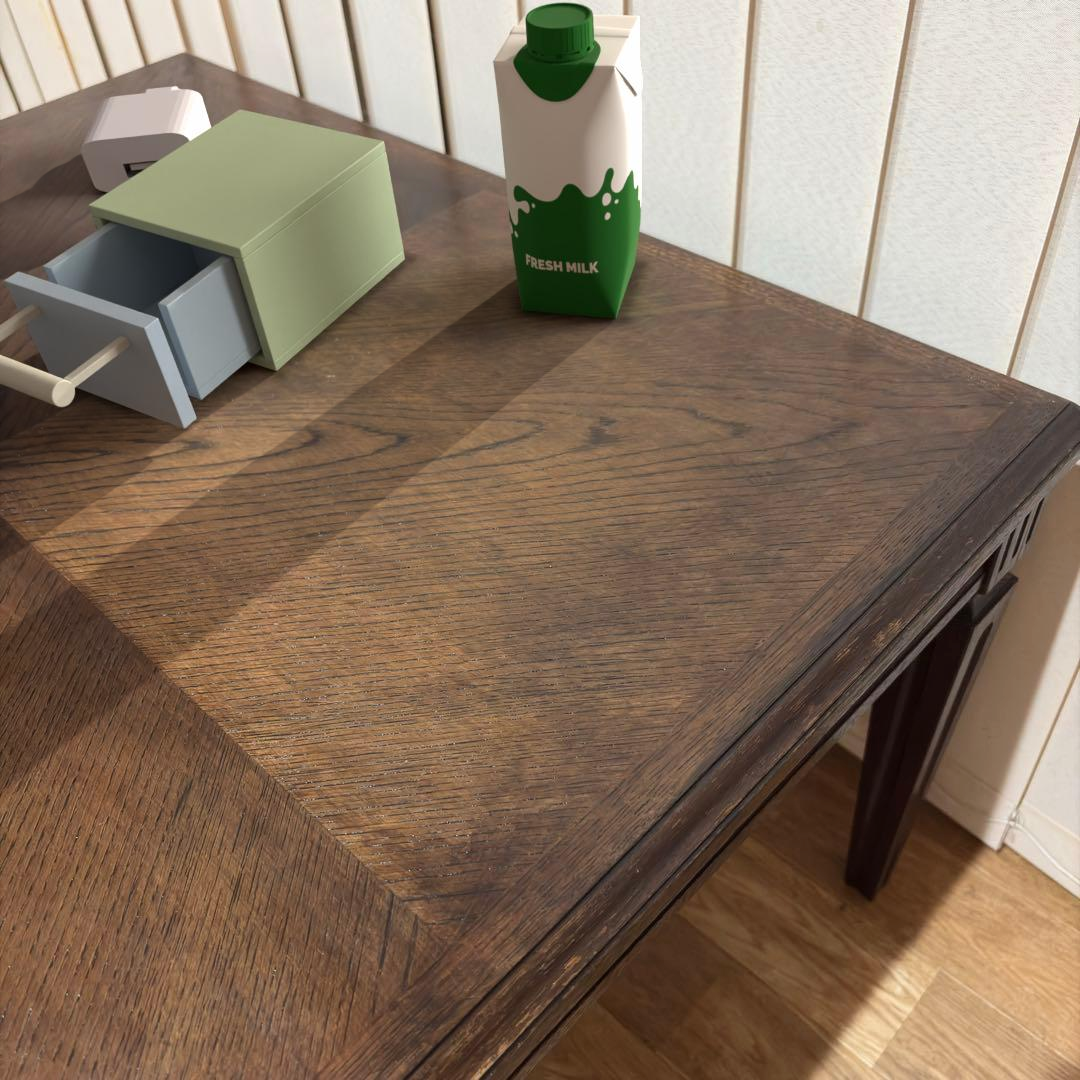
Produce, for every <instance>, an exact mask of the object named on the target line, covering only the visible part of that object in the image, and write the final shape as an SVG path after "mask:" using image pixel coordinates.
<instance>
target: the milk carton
mask: <svg viewBox="0 0 1080 1080" xmlns="http://www.w3.org/2000/svg"><path fill="white" fill-rule="evenodd" d="M640 19H641V17H640V15H629V14H628V15H625V14H596V13H595V14H594V12H593V10H592V9H591V8H589V7H588V6H586V5H584V4H581V3H576V2H553V3H546V4H543V5H540V6H537V7H534V8H533V9H531V10H530V11H528V12H525V13H524V14H523V16H522V18H520V20H519V22H518V24H517V25H514V26H513V27H512V29H511V30H510V31H509V35H508V36H507V38H506V40H505V41H504V43H503V44H502V46H501V48H500V49H499V51H498V52H497V54H496V56H495V57H494V59H493V61H492V65H493V71H494V79H495V87H496V88H495V89H496V96H497V103H498V111H499V113H498V114H499V123H500V133H501V144H502V145H501V146H502V155H503V165H504V176H505V177H504V178H505V186H506V196H507V197H506V198H507V206H508V217H509V218H508V219H509V228H510V236H511V237H510V238H511V246H512V254H513V260H514V267H515V273H516V280H517V287H518V292H519V293H518V294H519V300H520V306H521V307H520V308H521V311H527V312H537V313H548V314H560V315H570V316H579V317H580V316H582V317H591V318H601V319H602V318H603V319H612V320H613V319H614V320H616V319H617V318H618V314H619V312H620V309H621V306H622V302H623V299H624V296H625V294H626V291H627V288H628V285H629V282H630V280H631V276H632V274H633V271H634V268H635V265H636V257H637V250H638V249H637V248H638V244H639V243H638V242H639V237H640V229H641V220H642V141H643V139H642V136H643V135H642V134H643V133H642V129H643V128H642V125H643V122H642V120H643V119H642V118H643V117H642V91H643V87H644V85H643V74H642V73H643V72H642V65H641V47H640V46H641V42H640V41H641V39H640V37H641V35H640V28H641V27H640V26H641V24H640Z"/></svg>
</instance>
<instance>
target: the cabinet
mask: <svg viewBox="0 0 1080 1080" xmlns="http://www.w3.org/2000/svg"><path fill="white" fill-rule="evenodd" d="M389 167H390V166H389V161H388V155H387V151H386V146H385V141H384V140H381V139H376V138H371V137H367V136H362V135H357V134H353V133H349V132H344V131H339V130H335V129H331V128H325V127H322V126H317V125H312V124H307V123H304V122H300V121H294V120H290V119H286V118H280V117H276V116H271V115H267V114H262V113H258V112H253V111H250V110H249V111H248V110H245V109H237V110H236V111H235V112H233V113H231V114H230V115H229V116H227V117H225V118H224V119H222V120H221V121H219V122H218V123H216V124H214V125H213V126H211V128H210V129H208V130H206V131H205V132H203V133H202V134H200V135H198V136H197V137H195V138H194V139H192V140H191V141H189V142H187V143H186V144H184V145H183V146H181V147H179V148H178V149H176V150H175V151H173V152H172V153H170V154H168V155H167V156H165V157H164V158H162V159H160V160H159V161H157V162H156V163H154V164H153V165H151V166H149V167H148V168H146V169H145V170H143V171H141V172H140V173H138V174H137V175H135V176H134V177H132V178H130V179H129V180H127V181H126V182H124V183H123V184H121V185H119V186H118V187H116V188H115V189H113V190H111V191H110V192H106V193H105V194H104V195H102V196H100V197H99V198H97V199H96V200H94V201H93V202H91V203H89V204H88V209H89V211H90V213H91V217H92V219H93V222H94V224H95V228H96V229H97V230H99V229H100V228H102V227H103V226H105V225H106V224H108V223H109V222H111V221H113V222H117V223H120V224H124V225H127V226H130V227H134V228H137V229H141V230H144V231H147V232H151V233H154V234H158V235H161V236H165V237H168V238H171V239H175V240H178V241H182V242H185V243H188V244H192V245H195V246H199V247H202V248H206V249H209V250H212V251H216V252H219V253H223V254H226V255H230V256H233V257H234V260H235V263H236V266H237V270H238V273H239V276H240V279H241V282H242V286H243V289H244V292H245V295H246V299H247V302H248V305H249V308H250V312H251V315H252V318H253V321H254V325H255V328H256V331H257V334H258V337H259V341H260V344H261V347H262V349H261V350H260V351H259V352H258V353H256V354H255V355H254V356H253V357H252V358H251V359H249V360H248V361H247V362H248V363H251V364H254V365H257V366H260V367H263V368H265V369H269V370H272V371H275V372H277V371H279V370H280V369H281V368H282V367H283V366H285V365H286V363H288V362H289V361H291V359H293V358H294V357H295V356H296V355H297V354H298V353H300V352H301V351H302V350H303V349H304V348H305V347H307V346H308V345H309V344H310V343H311V342H312V341H313V340H315V338H317V337H318V336H319V335H321V333H323V331H325V330H326V329H327V328H328V327H329V326H330V325H332V324H333V323H334V322H335V321H336V320H337V319H339V317H341V316H342V315H343V314H344V313H345V312H347V310H348V309H350V308H351V307H352V306H353V305H355V304H356V303H357V302H358V301H359V300H360V299H362V297H364V296H365V295H366V294H367V293H368V292H369V291H370V290H371V289H373V288H374V287H375V286H376V285H377V284H378V283H380V282H381V281H382V280H383V279H384V278H385V277H386V276H388V275H389V274H390V273H391V272H392V271H394V270H395V269H396V268H397V267H398V266H399V265H400V264H402V262H404V261H405V260H406V257H405V252H404V246H403V239H402V235H401V229H400V223H399V217H398V212H397V211H398V210H397V206H396V200H395V195H394V188H393V183H392V177H391V173H390V168H389Z"/></svg>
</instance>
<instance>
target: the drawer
mask: <svg viewBox="0 0 1080 1080" xmlns="http://www.w3.org/2000/svg"><path fill="white" fill-rule="evenodd" d="M42 268H43V270H44V272H45V274H46V277H47V278H48V280H45V279H42V278H39V277H36V276H33V275H30V274H28V273H27V274H26V273H25V272H21V271H17V272H15V273H13V274H12V275H10V276H9V277H7V278H6V279H4V280H3V282H4V284H5V286H6V288H7V290H8V292H9V294H10V296H11V298H12V300H13V302H14V304H15V306H16V308H17V310H18V312H17V313H15V314H14V315H13V316H12V317H10V318H9V319H7V320H6V321H4V322H3V323H1V324H0V343H1V342H2V341H3V340H5V339H7V338H8V337H9V336H11V335H12V334H14V333H15V332H17V331H18V330H19V329H21V328H22V327H24V326H25V327H26V328H27V330H28V332H29V335H30V337H31V339H32V341H33V342H34V345H35V347H36V349H37V351H38V353H39V354H40V357H41V359H42V361H43V363H44V365H45V368H46V370H47V371H48V372H46V371H43V370H41V369H38V368H37V367H36V368H35V367H33V366H31V365H28V364H26V363H23V362H20V361H18V360H15V359H12V358H10V357H7V356H4V355H3V354H0V385H2V386H5V387H8V388H10V389H13V390H15V391H16V392H17V391H18V392H20V393H22V394H25V395H28V396H30V397H33V398H35V399H38V400H40V401H42V402H45V403H47V404H50V405H53V406H55V407H58V408H65V407H68V406H69V405H70V404H71V403H72V402H73V400H74V399H75V395H76V390H75V389H79V390H82V391H84V392H87V393H90V394H92V395H95V396H97V397H99V398H103V399H105V400H108V401H110V402H113V403H115V404H118V405H121V406H124V407H126V408H129V409H132V410H134V411H137V412H138V413H142V414H144V415H147V416H150V417H152V418H154V419H157V420H160V421H162V422H165V423H167V424H170V425H173V426H175V427H178V428H181V429H186V428H188V426H190V425H191V424H192V423H194V421H196V420H197V416H196V413H195V409H194V408H193V405H192V402H191V400H190V397H192V398H194V399H197V400H200V401H202V400H204V399H205V398H206V397H208V395H209V394H211V393H212V392H213V391H214V390H215V389H216V388H218V387H219V386H220V385H221V384H222V383H224V381H226V380H227V379H228V378H230V376H232V375H233V374H234V373H235V372H236V371H238V370H239V369H240V368H241V367H242V366H244V365H245V364H246V363H247V362H248V360H249V359H251V358H252V357H253V356H254V355H255V354H256V353H258V352H259V351H260V350H261V349H262V347H261V344H260V341H259V337H258V334H257V331H256V328H255V325H254V321H253V318H252V315H251V312H250V308H249V305H248V302H247V299H246V295H245V292H244V289H243V286H242V282H241V279H240V276H239V273H238V270H237V266H236V263H235V260H234V257H233V256H230V255H226V254H223V253H219V252H216V251H212V250H209V249H206V248H202V247H199V246H195V245H192V244H188V243H185V242H182V241H178V240H175V239H171V238H168V237H165V236H161V235H158V234H154V233H151V232H147V231H144V230H141V229H137V228H134V227H130V226H127V225H124V224H120V223H117V222H113V221H111V222H109V223H108V224H106V225H105V226H103V227H102V228H100V229H99V230H98V229H97V230H95V231H94V232H92V233H91V234H89V235H88V236H86V237H85V238H84V239H82V240H79V242H76V243H75V244H74V245H73V246H71V247H70V248H68V249H66V250H65V251H63V252H62V253H60V254H58V255H57V256H55V257H54V258H53V259H51V260H49V261H48V262H47V263H45V264H43V265H42Z"/></svg>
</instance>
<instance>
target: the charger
mask: <svg viewBox="0 0 1080 1080" xmlns="http://www.w3.org/2000/svg"><path fill="white" fill-rule="evenodd" d="M211 127H212V125H211V122H210V119H209V115H208V113H207V109H206V105H205V101H204V99H203V96H202V95H201V93H200V92H198V91H196V90H193V89H186V88H179V87H178V86H177V85H174V86H163V87H155V88H146V89H145V90H143V91H142V92H140V93H133V94H124V95H123V94H122V95H115V96H110V97H108V98H107V97H106V98H105V99H103V100H102V101H101V103H100V104H99V107H98V109H97V110H96V113H95V115H94V117H93V120H92V122H91V124H90V127H89V128H88V131H87V134H86V136H85V138H84V141H83V143H82V145H81V147H80V154H81V156H82V159H83V161H84V164H85V166H86V169H87V171H88V174H89V177H90V179H91V181H92V184H93V186H94V188H95V189H96V190H98V191H101V192H104V193H108V192H110V191H111V190H113V189H115V188H116V187H118V186H119V185H121V184H123V183H124V182H126V181H127V180H129V179H130V178H132V177H134V176H135V175H137V174H138V173H140V172H141V171H143V170H145V169H146V168H148V167H149V166H151V165H153V164H154V163H156V162H157V161H159V160H160V159H162V158H164V157H165V156H167V155H168V154H170V153H172V152H173V151H175V150H176V149H178V148H179V147H181V146H183V145H184V144H186V143H187V142H189V141H191V140H192V139H194V138H195V137H197V136H198V135H200V134H202V133H203V132H205V131H206V130H208V129H210V128H211Z"/></svg>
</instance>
